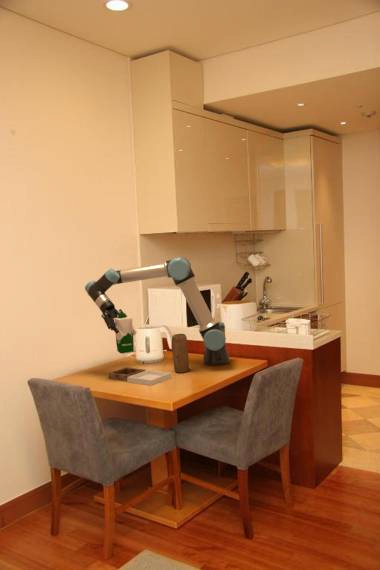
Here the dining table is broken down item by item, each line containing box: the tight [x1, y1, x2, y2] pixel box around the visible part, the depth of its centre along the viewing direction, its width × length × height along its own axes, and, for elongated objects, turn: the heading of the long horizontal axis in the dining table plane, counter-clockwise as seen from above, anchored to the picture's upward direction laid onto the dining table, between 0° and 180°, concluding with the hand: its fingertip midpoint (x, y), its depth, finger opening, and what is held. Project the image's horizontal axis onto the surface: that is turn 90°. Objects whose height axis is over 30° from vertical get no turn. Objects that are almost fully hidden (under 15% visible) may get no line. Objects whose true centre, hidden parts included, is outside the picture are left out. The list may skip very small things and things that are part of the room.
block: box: [171, 333, 190, 373], centre depth 293 cm, size 11×8×20 cm
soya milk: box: [114, 312, 135, 354], centre depth 286 cm, size 9×9×20 cm
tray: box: [126, 369, 173, 386], centre depth 279 cm, size 16×16×3 cm
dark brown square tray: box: [108, 366, 147, 382], centre depth 288 cm, size 14×14×3 cm
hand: (129, 335), depth 284 cm, fingers closed on soya milk, 9 cm apart
